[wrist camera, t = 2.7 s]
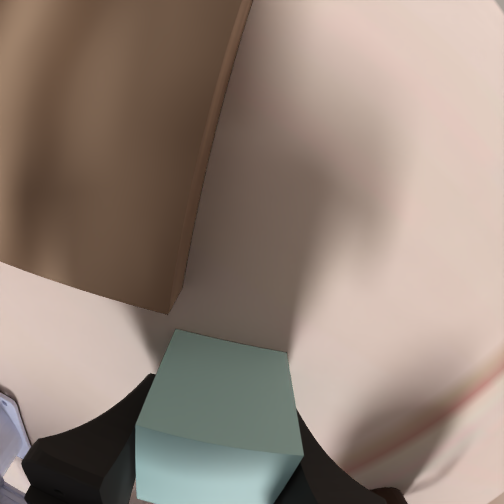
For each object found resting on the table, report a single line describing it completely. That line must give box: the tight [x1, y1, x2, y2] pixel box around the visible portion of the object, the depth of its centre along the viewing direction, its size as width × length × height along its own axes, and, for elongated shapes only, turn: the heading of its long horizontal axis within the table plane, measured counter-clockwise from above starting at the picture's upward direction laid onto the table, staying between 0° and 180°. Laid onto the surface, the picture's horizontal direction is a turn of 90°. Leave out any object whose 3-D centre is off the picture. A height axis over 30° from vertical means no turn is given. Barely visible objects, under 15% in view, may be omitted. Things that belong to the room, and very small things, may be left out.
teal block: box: [135, 329, 304, 504], centre depth 11 cm, size 5×5×6 cm
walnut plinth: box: [0, 0, 253, 315], centre depth 10 cm, size 13×13×2 cm
